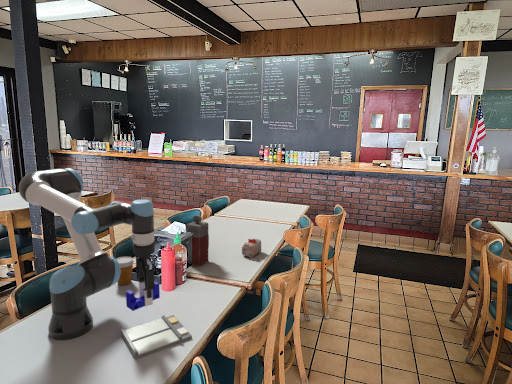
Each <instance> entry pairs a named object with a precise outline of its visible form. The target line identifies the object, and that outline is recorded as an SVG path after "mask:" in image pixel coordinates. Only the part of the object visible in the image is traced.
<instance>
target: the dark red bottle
mask: <svg viewBox="0 0 512 384" xmlns="http://www.w3.org/2000/svg"><path fill="white" fill-rule="evenodd" d="M192 219H193V221H191V222H189V223H187V224H186V228H185V229H186V233H187V232H191V233H193V237H192V264H193V265H192V266H196V267H201V266H203V265H205V264H206V263H208V262H209V246H210V243H209V242H210V239H209V238H210V236H209V222H207V221H202V216H201V215H200V214H196V215H194V216H193V218H192Z"/></svg>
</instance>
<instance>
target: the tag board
mask: <svg viewBox="0 0 512 384" xmlns="http://www.w3.org/2000/svg"><path fill="white" fill-rule="evenodd" d="M120 334H121V337H122V339H123V340H124V342H125V343H126V346H127V347H128V349H129V350H130V352H131V354H132V356H133V358H134V359H135V360H137V359H139V358H142V357H145V356H148V355H150V354H153V353H155V352H158V351H161V350H164V349H166V348H169V347H171V346H175V345H177V344H180V343H182V342H185V341H187V340H188V341H189V340H190V339H192V338H193V335H192V334H191V333H190V331H189V330H188V329H186V327H185V326H184V325H183V323H181V322H180V321H179V319H178V318H177V317H176V316H175V315H174V314H173V315H169V316H166V315H161V318H159V319H158V318H157V319H154V320H152V321H149V322H146V323H142V324H139V325H136V326H133V327H130V328H127V329H125V328H124V327H123V328H120Z"/></svg>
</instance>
